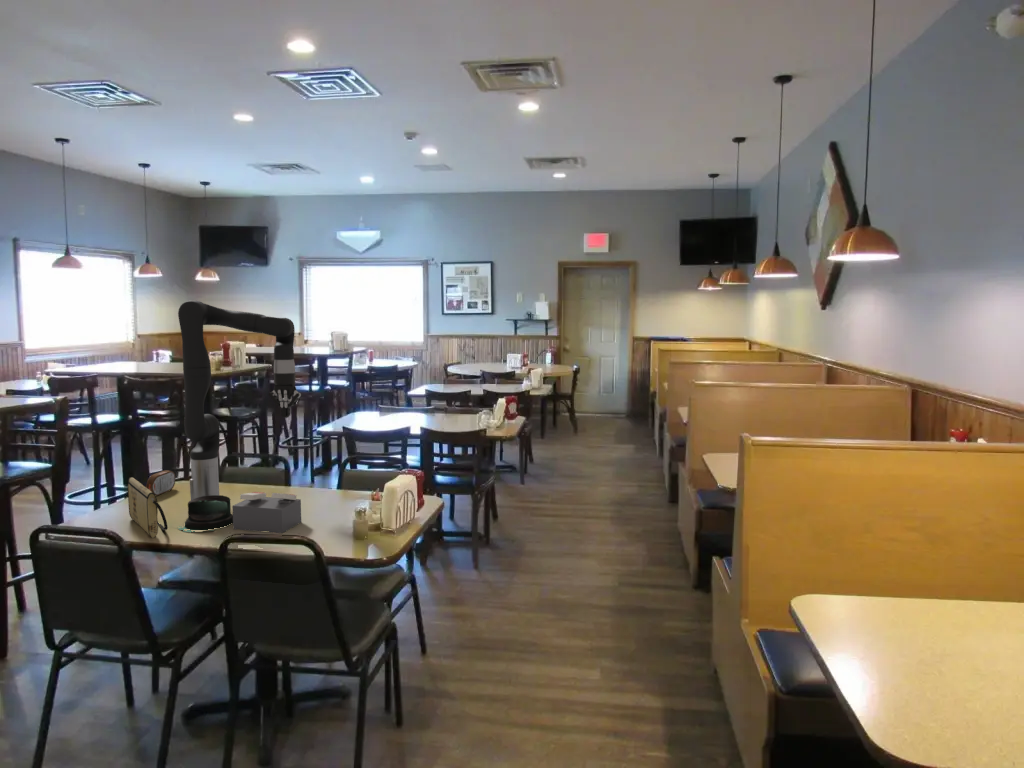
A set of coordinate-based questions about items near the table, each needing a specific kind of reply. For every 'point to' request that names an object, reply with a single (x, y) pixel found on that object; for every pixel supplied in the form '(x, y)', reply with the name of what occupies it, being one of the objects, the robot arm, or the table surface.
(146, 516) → the clutch purse
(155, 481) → the tin
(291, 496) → the right rocker
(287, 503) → the switch box
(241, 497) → the left rocker
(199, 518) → the dark green hat
